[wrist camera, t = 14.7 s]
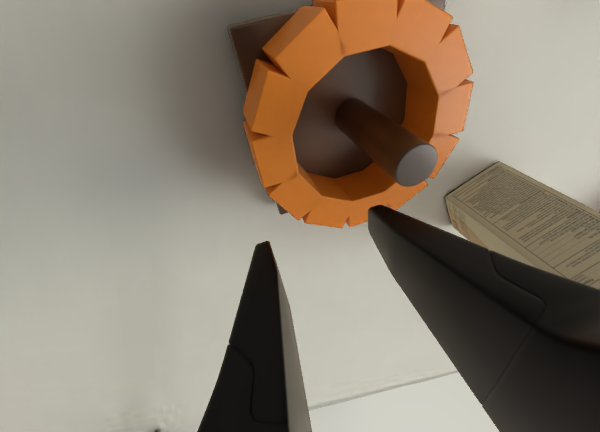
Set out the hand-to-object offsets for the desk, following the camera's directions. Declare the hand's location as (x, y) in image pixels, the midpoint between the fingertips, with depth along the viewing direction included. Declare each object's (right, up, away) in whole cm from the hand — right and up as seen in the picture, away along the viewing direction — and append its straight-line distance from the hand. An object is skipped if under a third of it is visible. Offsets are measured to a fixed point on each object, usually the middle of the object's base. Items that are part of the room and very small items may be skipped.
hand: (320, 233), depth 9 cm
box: (+14, +2, +15) cm, 20 cm away
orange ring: (+2, +6, +6) cm, 9 cm away
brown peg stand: (+2, +7, +7) cm, 10 cm away
